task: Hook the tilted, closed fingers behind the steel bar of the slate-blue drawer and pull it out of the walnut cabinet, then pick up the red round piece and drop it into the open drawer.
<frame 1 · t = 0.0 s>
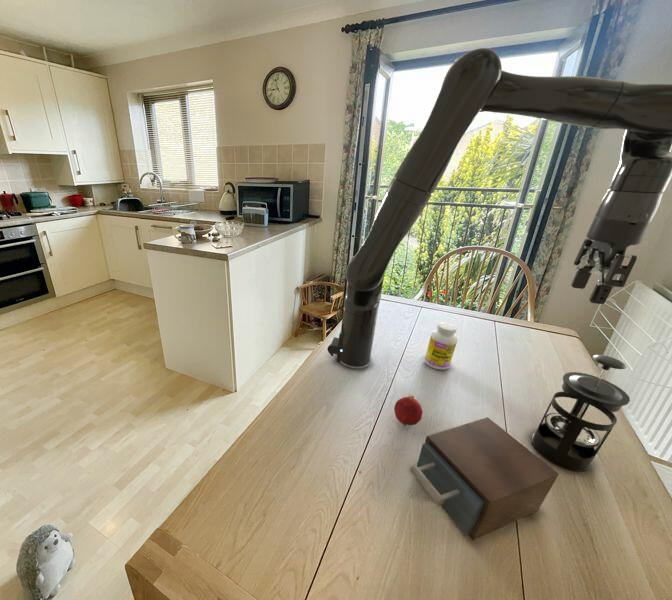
hand: (586, 295, 65), 29 cm above the table, tool pointing down, fingers open, 8 cm apart
cabinet: (473, 490, 57), on the table
drawer: (462, 479, 54), point 5 cm above the table, slide at 0.0 cm
french press: (559, 450, 65), on the table
red round piece: (404, 423, 71), on the table
supplement bottle: (436, 364, 92), on the table
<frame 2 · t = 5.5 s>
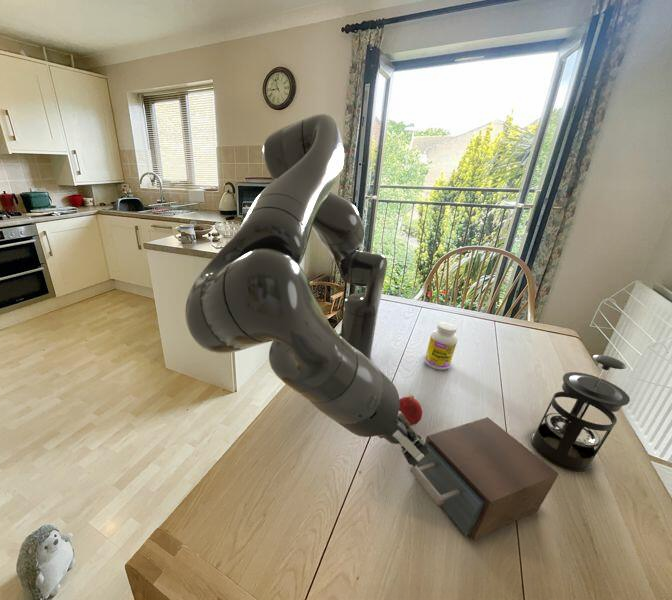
hand: (412, 440, 43), 20 cm above the table, tool tilted 45°, fingers closed
nothing on the table moved.
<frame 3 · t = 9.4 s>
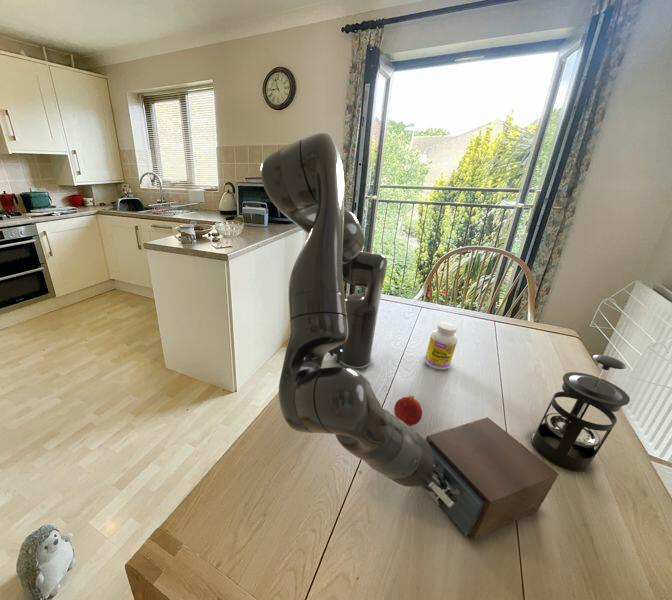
hand: (442, 482, 51), 6 cm above the table, tool tilted 45°, fingers closed
drawer: (462, 479, 54), point 5 cm above the table, slide at 0.0 cm, touching cabinet, gripper
everything else where it was.
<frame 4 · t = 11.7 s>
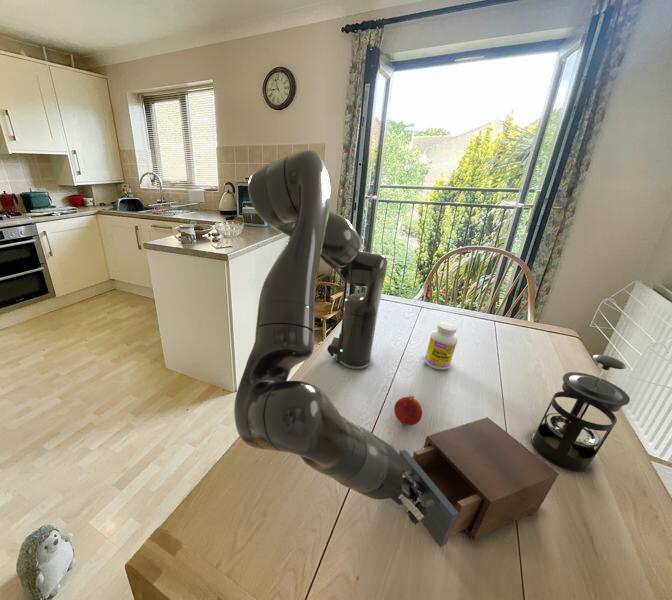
hand: (417, 491, 50), 6 cm above the table, tool tilted 45°, fingers closed
drawer: (439, 487, 52), point 5 cm above the table, slide at 5.0 cm, touching gripper
everything else where it was.
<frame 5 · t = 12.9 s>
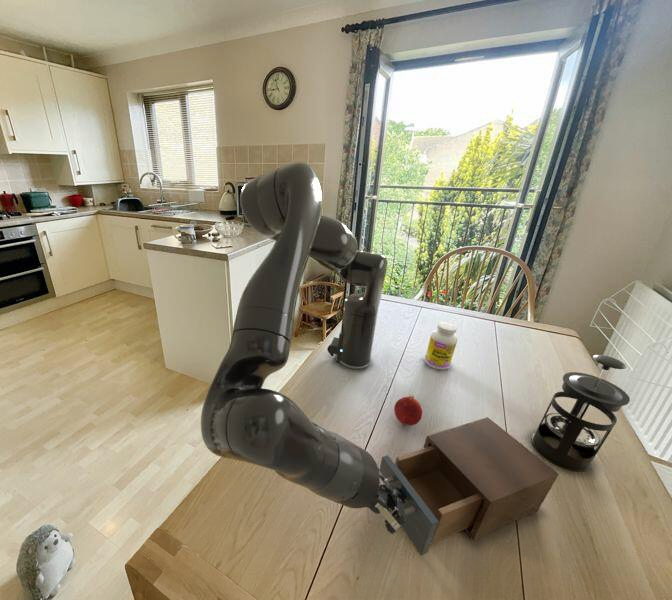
hand: (399, 498, 49), 6 cm above the table, tool tilted 45°, fingers closed
drawer: (422, 494, 51), point 5 cm above the table, slide at 8.7 cm, touching gripper
everything else where it was.
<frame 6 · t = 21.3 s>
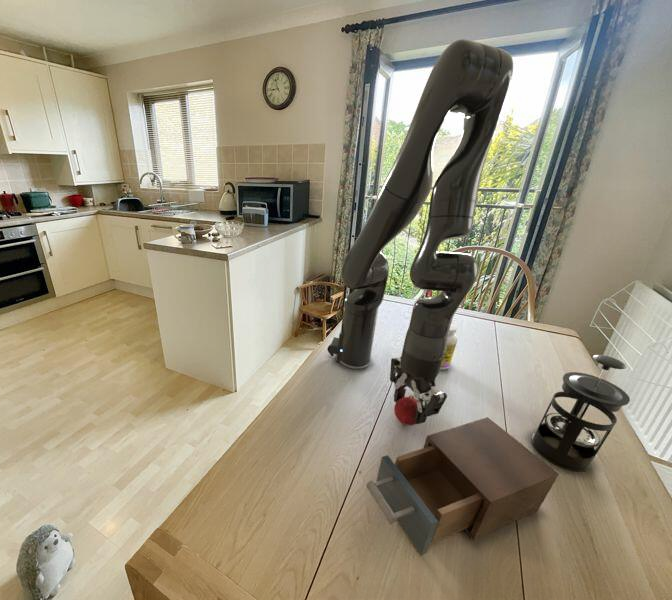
hand: (408, 411, 69), 4 cm above the table, tool pointing down, fingers closed on red round piece, 6 cm apart
drawer: (422, 494, 51), point 5 cm above the table, slide at 8.7 cm
red round piece: (404, 423, 71), on the table, touching gripper
everything else where it was.
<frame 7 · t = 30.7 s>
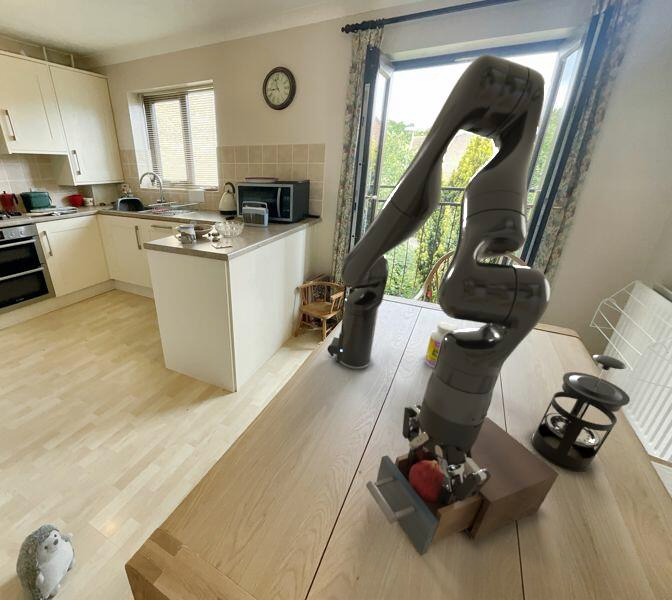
hand: (428, 481, 50), 8 cm above the table, tool pointing down, fingers closed on red round piece, 6 cm apart
red round piece: (423, 496, 52), point 4 cm above the table, touching gripper
everything else where it was.
when the fingers open (11 cm above the table, at t = 50.7 s): red round piece drops 5 cm, resting on cabinet, drawer.
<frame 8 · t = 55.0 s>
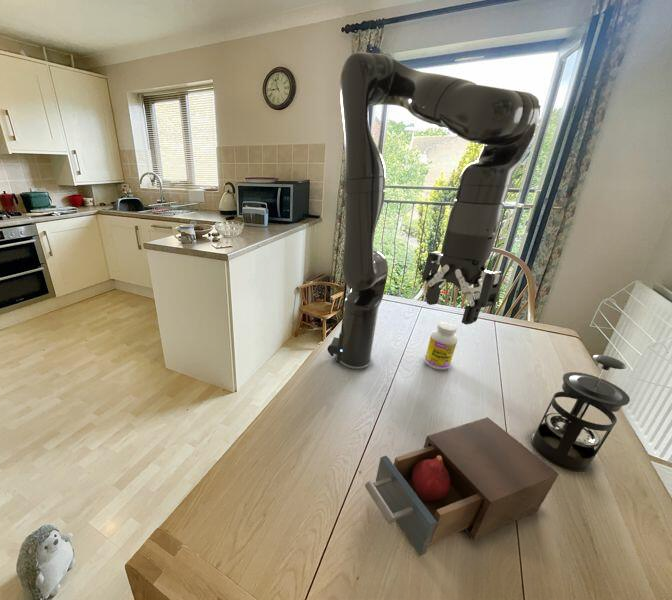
hand: (448, 313, 60), 28 cm above the table, tool pointing down, fingers open, 8 cm apart
drawer: (420, 495, 51), point 5 cm above the table, slide at 8.9 cm, touching red round piece
red round piece: (420, 501, 52), point 3 cm above the table, touching cabinet, drawer
everything else where it was.
at the end: drawer slide at 8.9 cm; red round piece inside the target area in the drawer (0.2 cm from its centre), point 2.7 cm above the cabinet's base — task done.
